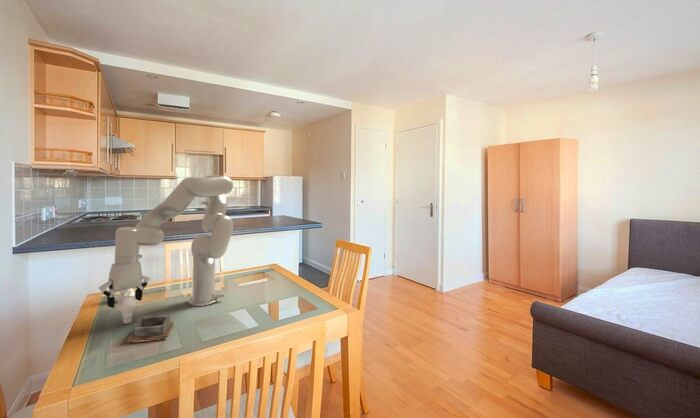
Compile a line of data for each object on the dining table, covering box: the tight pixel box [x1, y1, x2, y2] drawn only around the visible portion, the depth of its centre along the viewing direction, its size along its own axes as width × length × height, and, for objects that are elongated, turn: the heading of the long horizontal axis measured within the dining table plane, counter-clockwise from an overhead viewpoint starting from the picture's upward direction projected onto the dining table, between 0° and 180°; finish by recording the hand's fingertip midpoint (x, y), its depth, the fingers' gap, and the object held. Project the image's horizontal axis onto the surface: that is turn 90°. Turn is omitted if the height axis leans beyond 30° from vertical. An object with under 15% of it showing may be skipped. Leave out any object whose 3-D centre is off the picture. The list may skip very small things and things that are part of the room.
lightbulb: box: [116, 296, 138, 325], centre depth 121 cm, size 6×6×11 cm
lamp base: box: [126, 315, 175, 344], centre depth 115 cm, size 12×12×4 cm
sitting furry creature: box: [113, 288, 135, 303], centre depth 144 cm, size 10×9×12 cm
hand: (125, 303), depth 120 cm, fingers open, 9 cm apart
